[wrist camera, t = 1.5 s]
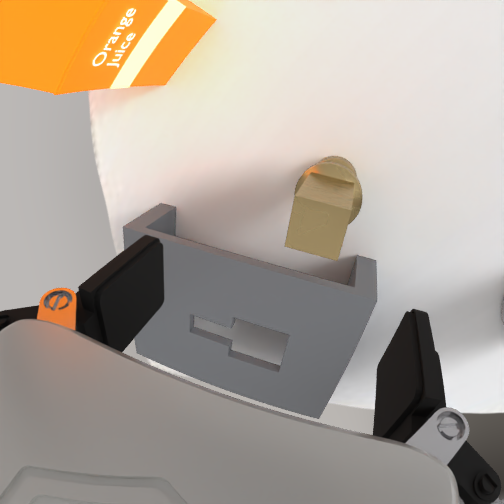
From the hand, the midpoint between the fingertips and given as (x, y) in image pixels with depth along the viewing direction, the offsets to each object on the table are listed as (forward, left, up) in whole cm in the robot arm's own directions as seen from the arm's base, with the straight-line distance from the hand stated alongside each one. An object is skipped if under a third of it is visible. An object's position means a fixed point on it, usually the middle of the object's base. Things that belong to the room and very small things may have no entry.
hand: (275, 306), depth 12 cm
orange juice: (+19, -12, -20) cm, 30 cm away
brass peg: (0, 0, -20) cm, 20 cm away
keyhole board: (+6, +16, -20) cm, 26 cm away
